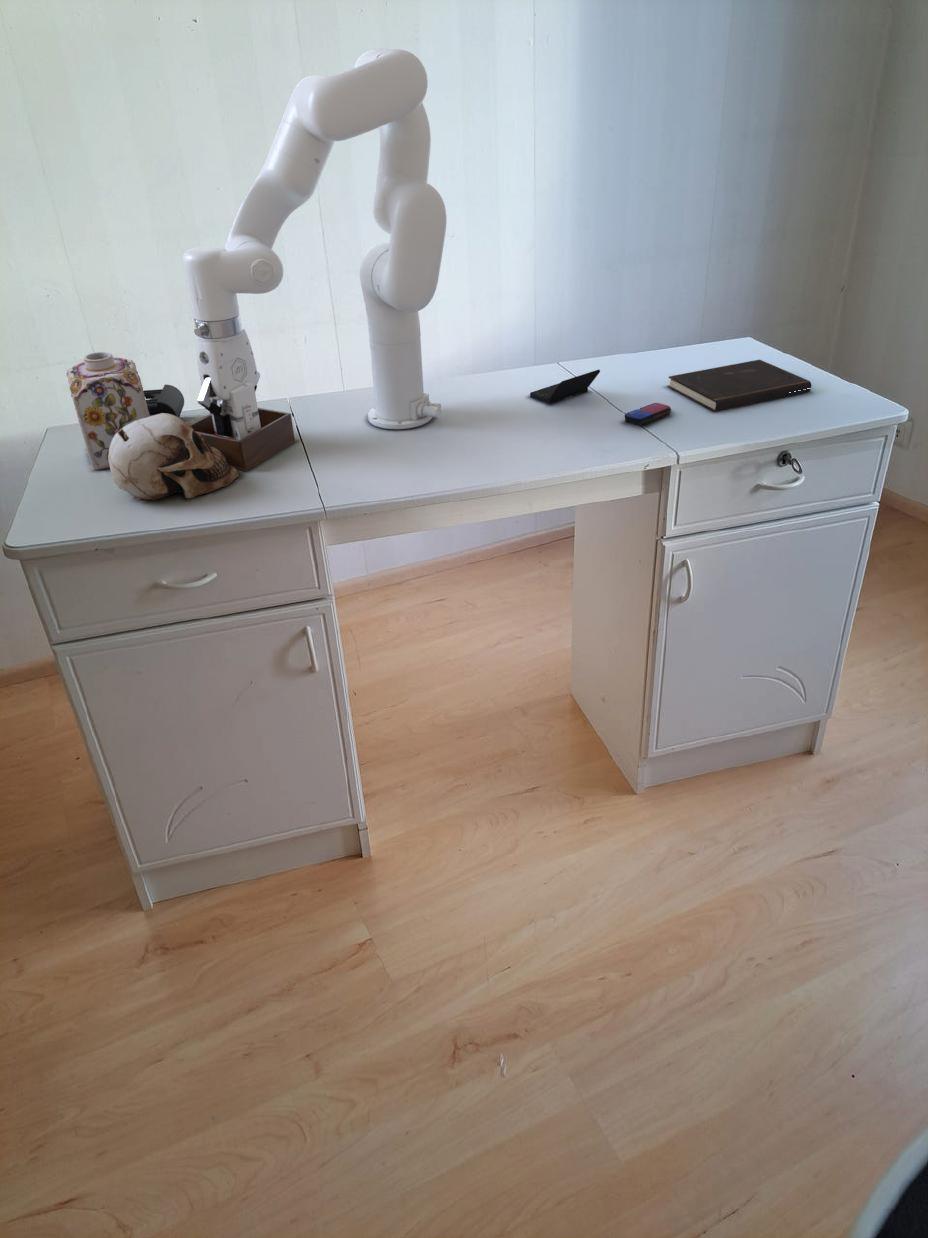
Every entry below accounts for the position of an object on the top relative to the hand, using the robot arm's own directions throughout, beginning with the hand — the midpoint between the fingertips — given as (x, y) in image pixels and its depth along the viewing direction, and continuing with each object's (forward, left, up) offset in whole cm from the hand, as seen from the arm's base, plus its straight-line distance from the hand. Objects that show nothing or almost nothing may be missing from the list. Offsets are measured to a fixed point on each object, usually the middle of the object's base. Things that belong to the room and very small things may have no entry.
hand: (237, 427), depth 155 cm
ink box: (0, 0, -4) cm, 4 cm away
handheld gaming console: (-44, -48, -4) cm, 65 cm away
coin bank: (0, +16, -4) cm, 17 cm away
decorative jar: (+19, +10, -4) cm, 22 cm away
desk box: (0, 0, -4) cm, 4 cm away
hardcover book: (-75, -65, -4) cm, 99 cm away
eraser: (-63, -43, -4) cm, 76 cm away
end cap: (+21, -3, -4) cm, 22 cm away
